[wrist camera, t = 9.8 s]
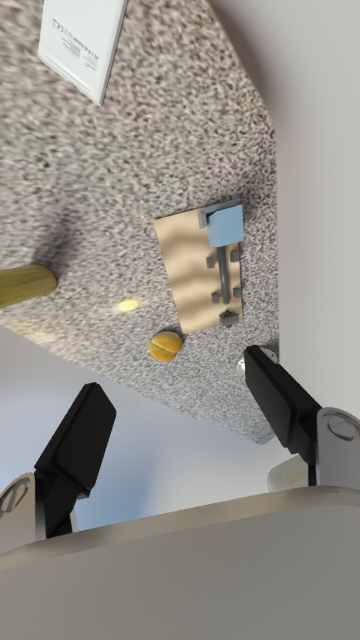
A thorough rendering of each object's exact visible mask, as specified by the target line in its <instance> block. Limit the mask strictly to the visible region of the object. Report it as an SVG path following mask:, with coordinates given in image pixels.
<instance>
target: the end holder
mask: <svg viewBox="0 0 360 640" xmlns="http://www.w3.org/2000/svg"><path fill="white" fill-rule="evenodd" d="M238 205H241V198H240V199H236V200H232V201H228V202H225V203H221V204H217V205H213V206H209V207H206V208H202V209H200V210H199V211H198V212H197V214H198V221H199V228H200V229H203V228H205V227H207V220H206V215H210V214H213V213H215V212H216V211H220V210H224V209H227V208H231V207H235V206H238Z"/></svg>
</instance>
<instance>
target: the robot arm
mask: <svg viewBox="0 0 360 640" xmlns="http://www.w3.org/2000/svg"><path fill="white" fill-rule="evenodd" d="M236 372H237V373H238V375H239V377H241V378H242V379H244V380H245V381H246V384H247V386H248V388H249V390H250V392H251V393H252V395H253V397H254V398H255V400H256V402H257V403H258V405H259V407H260V409H261V410H262V412H263V414H264V415H265V417H266V419H267V420H268V422H269V424H270V426H271V427H272V429H273V431H274V432H275V434H276V436H277V437H278V439H279V441H280V443H281V444H282V446H283V447H285V448H288V450H289V451H290V453H291V454H296V453H299V455H297V456H295V457H294V458H291V459H289V460H287V461H285V462H283V463H282V464H280V465H278V466H276V467H275V468H273V469H272V470H271V471H270V472H269V474H268V477H267V484H268V489H269V493H264V494H259V495H253V496H249V497H244V498H238V499H233V500H229V501H224V502H218V503H213V504H209V505H204V506H199V507H194V508H189V509H184V510H179V511H175V512H170V513H165V514H160V515H155V516H150V517H145V518H140V519H136V520H131V521H126V522H121V523H117V524H112V525H107V526H102V527H98V528H93V529H89V530H84V531H79V530H78V524H77V519H76V513H75V508H74V505H75V502H76V500H77V499H84V498H88V497H89V495H90V492H91V489H92V488H93V487H94V485H95V483H96V480H97V476H98V473H99V470H100V467H101V463H102V460H103V457H104V454H105V450H106V447H107V444H108V441H109V437H110V434H111V431H112V428H113V424H114V421H115V418H116V410H115V408H114V406H113V405H112V403H111V402H110V400H109V399H108V397H107V396H106V394H105V392H104V391H103V389H102V388H101V386H100V385H99V384H97V383H96V382H94V383H89V384H85V385H84V386H83V388H82V389H81V391H80V392H79V394H78V396H77V397H76V399H75V401H74V402H73V404H72V405H71V407H70V409H69V410H68V412H67V414H66V415H65V417H64V419H63V420H62V422H61V423H60V425H59V427H58V428H57V430H56V431H55V433H54V435H53V436H52V438H51V440H50V441H49V443H48V445H47V446H46V448H45V449H44V451H43V453H42V454H41V456H40V458H39V459H38V461H37V462H36V464H35V466H34V468H35V469H36V471H35V472H34V474H33V473H25V474H23V475H21V476H20V477H18V478H16V479H15V480H14V481H13V482H12V483H10V484H9V485H8V486H7V487H6V488H5V489H4V491H3V492H2V493H1V494H0V640H360V420H359V419H357V418H356V417H355V416H353V415H351V414H350V413H348V412H345V411H343V410H341V409H337V408H332V407H328V408H327V407H325V408H322V407H321V406H320V405H319V404H318V403H317V402H316V401H315V400H314V399H313V398H312V397H311V396H310V395H309V394H308V393H307V392H306V390H304V389H303V388H302V386H301V385H300V384H299V383H298V382H297V381H296V380H295V379H293V377H292V376H291V375H290V374H289V373H288V372H287V371H286V370H285V369H284V368H283V367H282V366H281V365H280V364H278V363H277V357H276V355H275V353H274V352H273V351H272V350H270V349H268V348H264V347H259V346H257V345H252V346H248V347H246V350H244V354H243V355H242V356H241V357H240V358H239V359H238V361H237V364H236Z"/></svg>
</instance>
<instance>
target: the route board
mask: <svg viewBox="0 0 360 640" xmlns="http://www.w3.org/2000/svg"><path fill="white" fill-rule="evenodd" d="M233 200H236V199H233ZM229 201H232V200H229ZM225 202H228V201H225ZM225 202H221V203H225ZM221 203H217V204H221ZM217 204H214V205H217ZM210 206H213V205H210ZM206 207H209V206H206ZM206 207H202V208H206ZM202 208H199V209H195V210H191V211H187V212H183V213H180V214H176V215H172V216H168V217H165V218H161V219H157V220H154V224H155V228H156V231H157V235H158V239H159V243H160V247H161V251H162V254H163V258H164V262H165V266H166V270H167V274H168V278H169V281H170V285H171V289H172V293H173V297H174V301H175V304H176V308H177V312H178V316H179V320H180V324H181V328H182V331H183V334H185V333H190V332H194V331H198V330H202V329H206V328H210V327H214V326H218V325H222V326H226V327H228V328H230V327H231V326H232V324H235V323H239V320H243V318H242V300H241V297H242V296H241V283H240V265H239V261H240V260H239V247H238V242H236V243H232V244H229V245H225V256H226V266H227V276H228V286H229V296H230V303H229V304H228V305H225V304H224V303H223V298H222V289H221V281H220V273H219V264H218V256H217V247H210V246H209V238H208V231H207V227H205V228H203V229H200V228H199V221H198V214H197V212H198V211H199V210H200V209H202ZM213 214H214V213H213ZM213 214H210V215H206V219H207V218H209V217H210V216H211V215H213Z"/></svg>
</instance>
